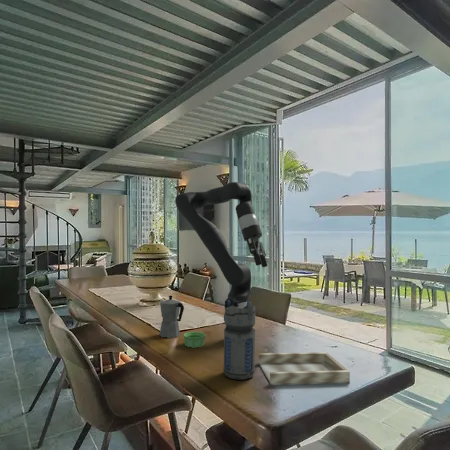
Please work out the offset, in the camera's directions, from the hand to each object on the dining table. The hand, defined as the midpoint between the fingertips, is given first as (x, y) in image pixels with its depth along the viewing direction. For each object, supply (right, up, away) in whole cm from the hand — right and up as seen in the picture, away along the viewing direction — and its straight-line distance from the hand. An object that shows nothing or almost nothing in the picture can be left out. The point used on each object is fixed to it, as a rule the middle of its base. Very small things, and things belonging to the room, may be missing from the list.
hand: (262, 265), depth 134 cm
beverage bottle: (-10, -33, -20) cm, 40 cm away
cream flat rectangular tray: (+11, -34, -17) cm, 40 cm away
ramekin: (-27, -34, +10) cm, 45 cm away
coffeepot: (-39, -35, +23) cm, 57 cm away
